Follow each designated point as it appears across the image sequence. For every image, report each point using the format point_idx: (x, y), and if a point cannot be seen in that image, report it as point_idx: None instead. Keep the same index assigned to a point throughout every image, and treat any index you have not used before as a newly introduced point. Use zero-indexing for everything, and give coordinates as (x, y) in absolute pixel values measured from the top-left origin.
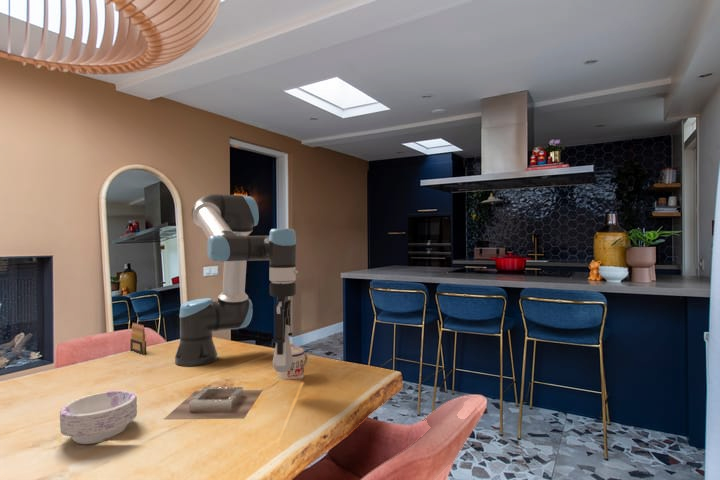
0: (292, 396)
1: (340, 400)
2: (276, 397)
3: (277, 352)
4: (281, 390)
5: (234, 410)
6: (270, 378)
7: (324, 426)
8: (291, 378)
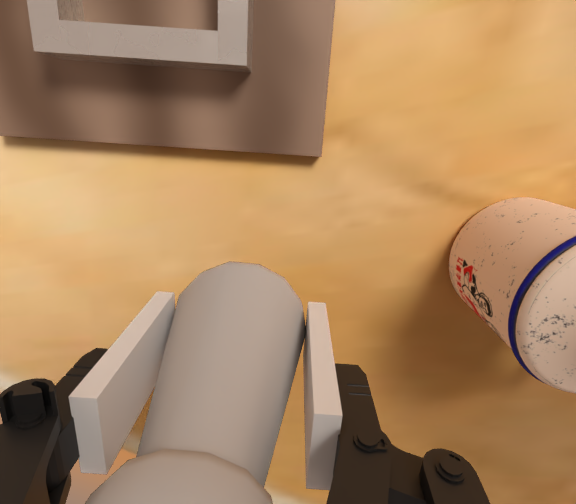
0: None
1: None
2: (265, 223)
3: (80, 360)
4: (347, 233)
5: (70, 73)
6: (532, 159)
7: None
8: (453, 271)
